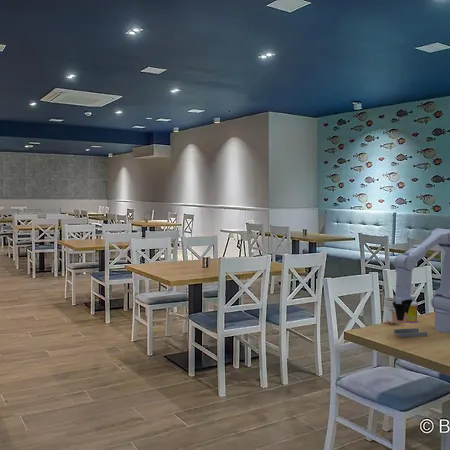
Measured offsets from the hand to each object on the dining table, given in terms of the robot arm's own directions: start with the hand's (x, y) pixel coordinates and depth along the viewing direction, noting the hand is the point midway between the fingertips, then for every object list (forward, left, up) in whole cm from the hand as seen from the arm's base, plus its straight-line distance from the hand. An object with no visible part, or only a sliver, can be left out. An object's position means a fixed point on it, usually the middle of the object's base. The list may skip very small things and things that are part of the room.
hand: (402, 318), depth 202 cm
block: (-1, -1, +1) cm, 2 cm away
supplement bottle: (-18, -22, -9) cm, 30 cm away
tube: (-5, -2, -8) cm, 10 cm away
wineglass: (-7, -18, -9) cm, 21 cm away
